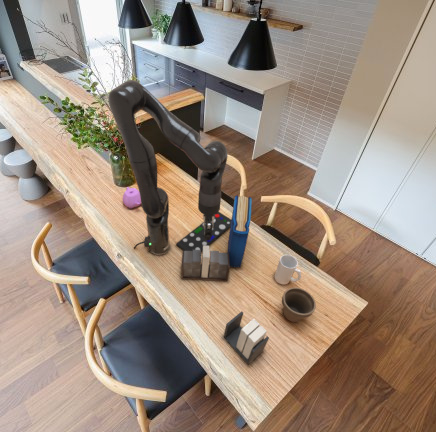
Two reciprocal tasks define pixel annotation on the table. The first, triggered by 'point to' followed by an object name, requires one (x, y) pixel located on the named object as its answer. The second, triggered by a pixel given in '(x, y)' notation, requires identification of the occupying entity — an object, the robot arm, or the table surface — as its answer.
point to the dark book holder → (246, 338)
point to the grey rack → (216, 269)
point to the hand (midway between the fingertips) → (207, 231)
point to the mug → (287, 270)
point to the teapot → (131, 198)
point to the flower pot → (297, 304)
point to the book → (239, 230)
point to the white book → (205, 261)
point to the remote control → (197, 237)
